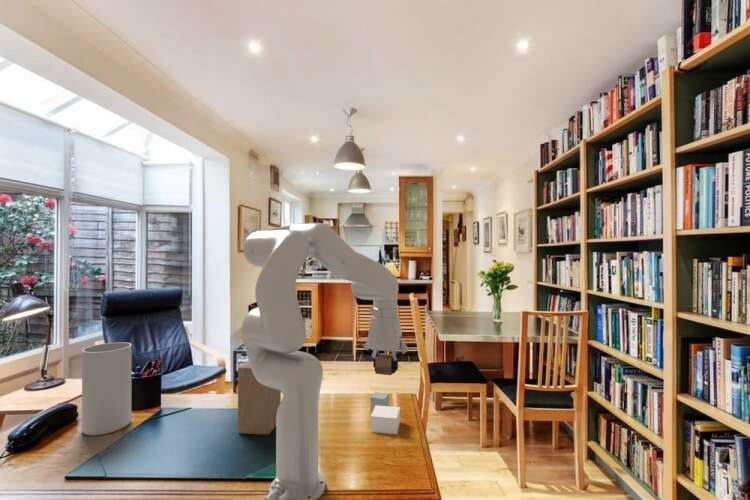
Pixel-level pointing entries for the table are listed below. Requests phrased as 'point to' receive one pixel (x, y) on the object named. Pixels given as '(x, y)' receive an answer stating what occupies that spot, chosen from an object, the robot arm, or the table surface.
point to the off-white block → (385, 419)
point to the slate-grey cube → (379, 400)
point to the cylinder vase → (106, 387)
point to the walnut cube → (383, 364)
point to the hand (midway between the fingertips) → (385, 370)
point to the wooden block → (255, 404)
